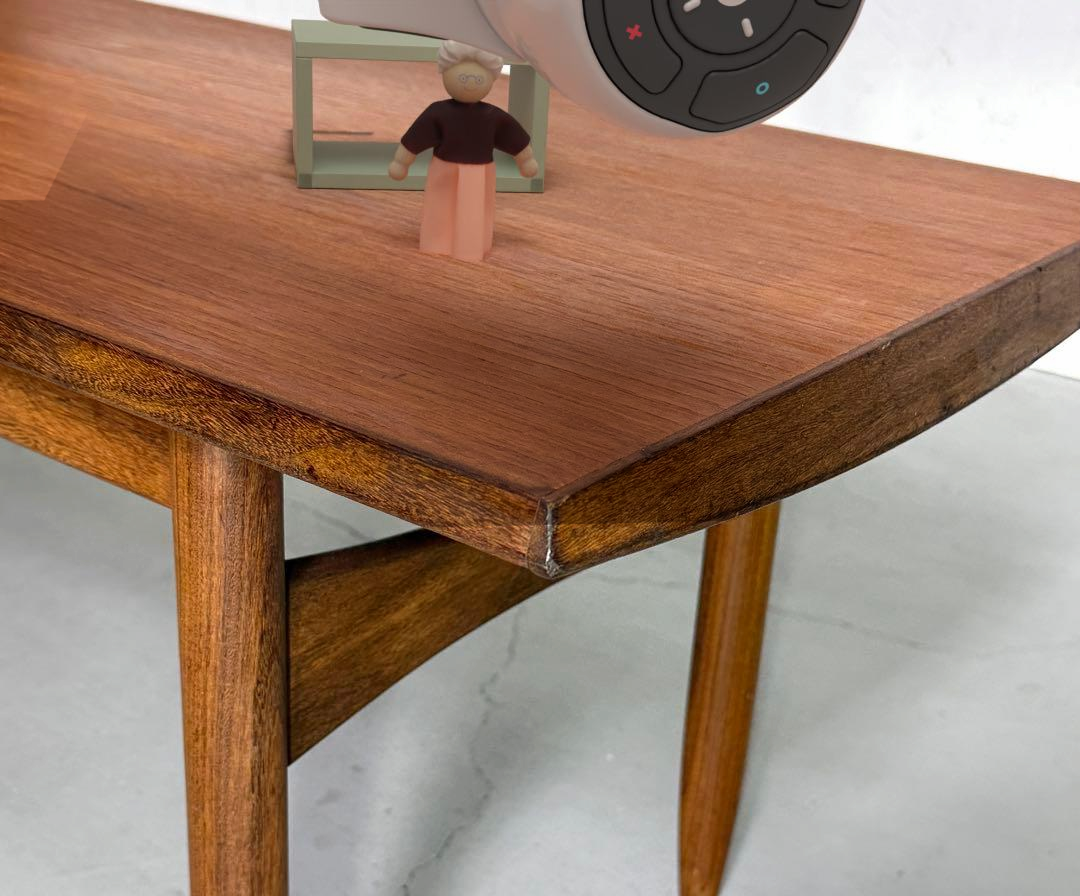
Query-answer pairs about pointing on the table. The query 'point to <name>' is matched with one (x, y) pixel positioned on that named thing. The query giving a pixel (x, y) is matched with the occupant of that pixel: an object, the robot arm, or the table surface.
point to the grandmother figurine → (462, 154)
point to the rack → (371, 159)
